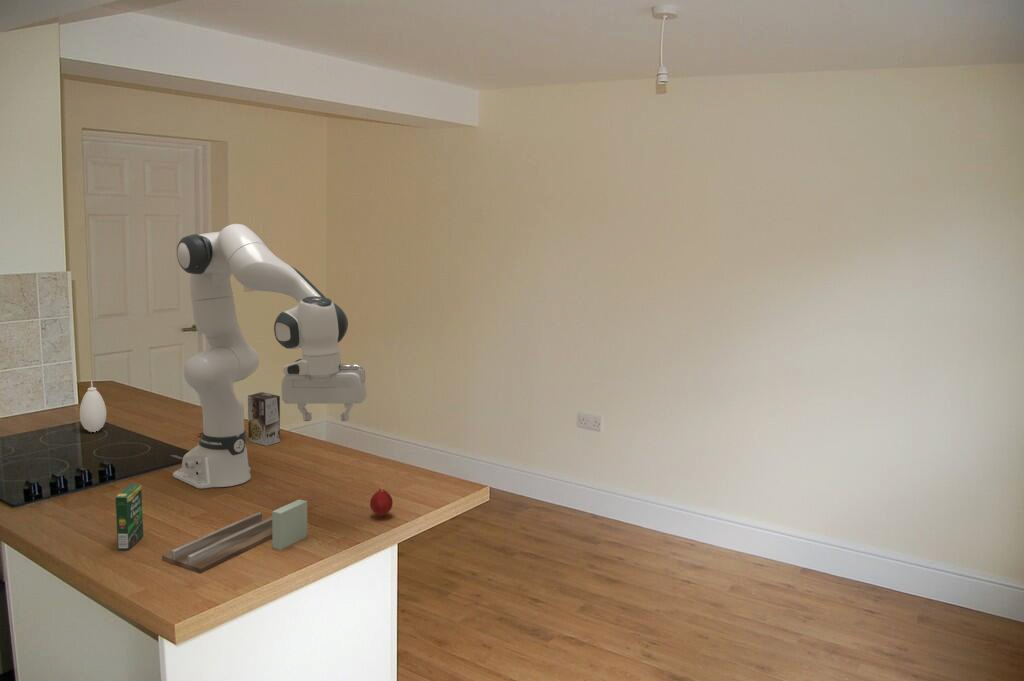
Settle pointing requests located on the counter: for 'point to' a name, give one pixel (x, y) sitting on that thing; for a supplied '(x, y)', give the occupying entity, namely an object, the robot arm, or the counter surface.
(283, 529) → the door panel
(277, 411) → the coffee box
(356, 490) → the counter surface
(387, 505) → the onion
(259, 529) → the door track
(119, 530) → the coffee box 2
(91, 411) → the sauce bottle
